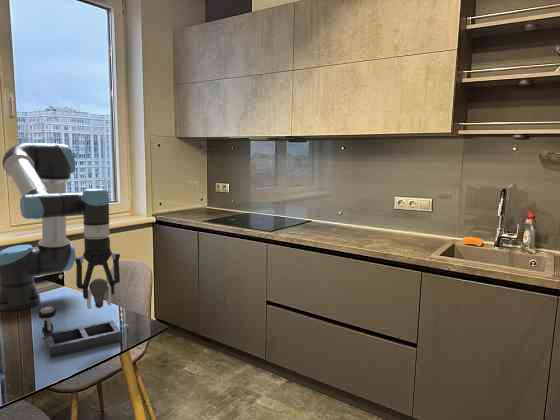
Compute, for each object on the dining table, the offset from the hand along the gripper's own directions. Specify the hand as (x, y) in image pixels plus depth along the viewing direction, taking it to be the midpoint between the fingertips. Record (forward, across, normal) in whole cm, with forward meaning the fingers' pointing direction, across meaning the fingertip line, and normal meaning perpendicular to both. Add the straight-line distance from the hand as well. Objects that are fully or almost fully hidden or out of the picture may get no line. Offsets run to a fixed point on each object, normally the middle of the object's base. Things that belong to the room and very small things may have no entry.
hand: (99, 305), depth 133 cm
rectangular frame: (+12, -5, 0) cm, 13 cm away
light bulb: (+1, 0, 0) cm, 1 cm away
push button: (+12, -14, +12) cm, 22 cm away
